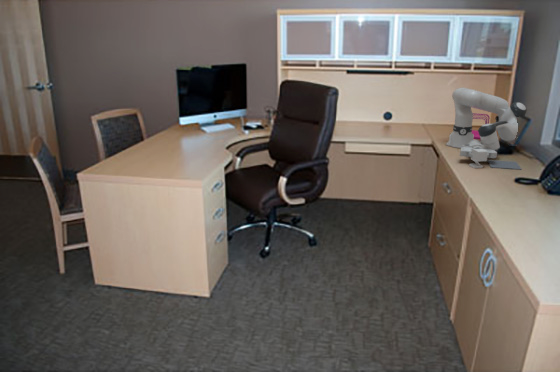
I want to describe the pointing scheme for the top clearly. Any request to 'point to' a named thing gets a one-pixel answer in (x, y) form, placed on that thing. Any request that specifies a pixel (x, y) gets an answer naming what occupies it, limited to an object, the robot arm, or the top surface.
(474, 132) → the file sorter
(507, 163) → the desk pad
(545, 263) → the top surface
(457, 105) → the robot arm
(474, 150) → the security camera
